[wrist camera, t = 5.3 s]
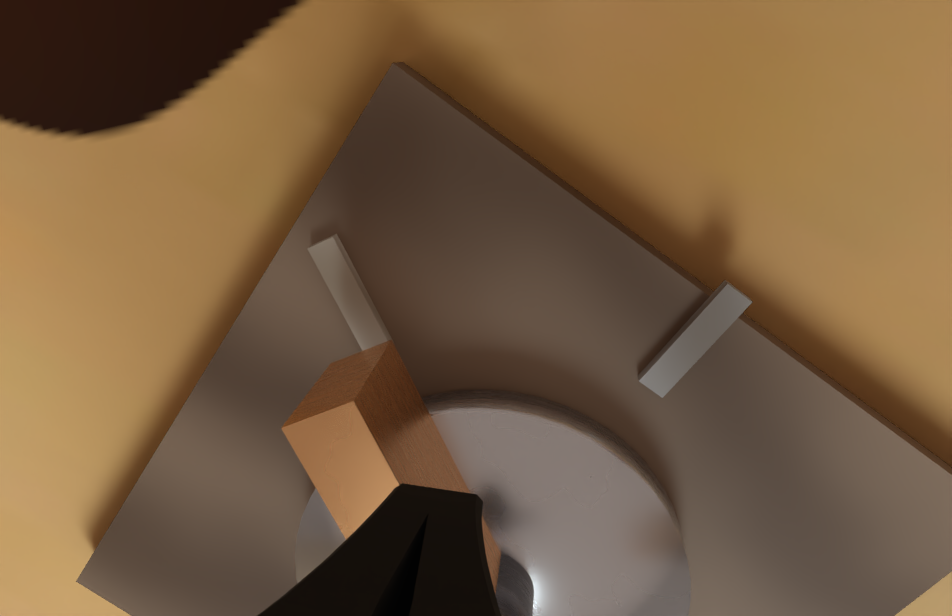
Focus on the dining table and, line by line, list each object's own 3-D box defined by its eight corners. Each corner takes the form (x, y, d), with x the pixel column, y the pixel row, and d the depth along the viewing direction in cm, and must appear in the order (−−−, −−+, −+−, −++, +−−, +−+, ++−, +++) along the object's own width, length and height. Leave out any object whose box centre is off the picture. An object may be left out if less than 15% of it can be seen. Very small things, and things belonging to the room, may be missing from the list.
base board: (556, 844, 24) (556, 886, 23) (96, 559, 22) (69, 588, 21) (1008, 484, 18) (1040, 516, 16) (414, 42, 16) (402, 42, 15)
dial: (735, 653, 19) (780, 817, 15) (408, 729, 22) (370, 889, 17) (567, 255, 16) (566, 327, 12) (206, 398, 18) (103, 497, 14)
